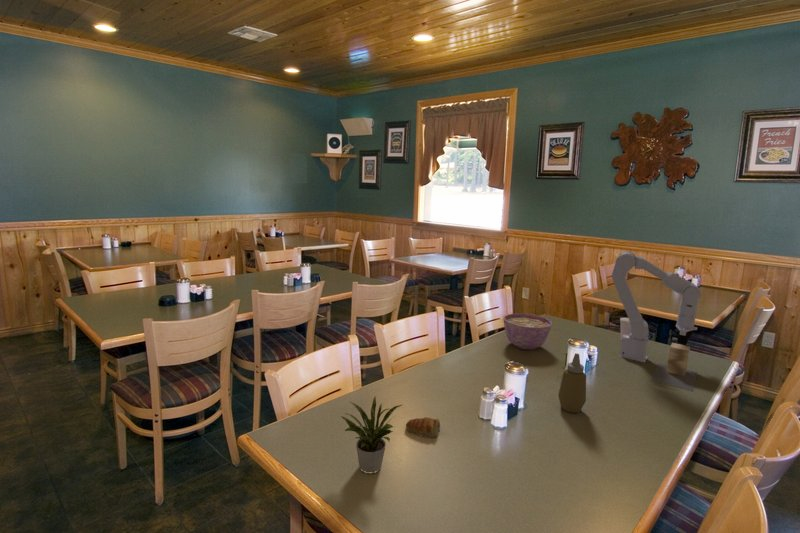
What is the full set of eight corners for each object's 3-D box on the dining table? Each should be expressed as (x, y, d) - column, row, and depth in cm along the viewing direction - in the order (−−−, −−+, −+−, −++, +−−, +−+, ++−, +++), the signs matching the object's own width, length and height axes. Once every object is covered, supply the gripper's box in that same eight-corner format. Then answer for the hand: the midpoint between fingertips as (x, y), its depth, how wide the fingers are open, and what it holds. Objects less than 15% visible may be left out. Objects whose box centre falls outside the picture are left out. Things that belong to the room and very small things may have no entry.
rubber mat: (650, 381, 164) (650, 380, 164) (658, 364, 180) (658, 363, 180) (692, 392, 156) (692, 391, 156) (697, 373, 173) (697, 372, 173)
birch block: (666, 371, 172) (670, 346, 170) (668, 367, 177) (672, 342, 175) (684, 376, 168) (688, 350, 166) (686, 371, 173) (690, 346, 171)
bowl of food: (491, 344, 195) (494, 318, 193) (517, 335, 209) (520, 310, 207) (533, 358, 181) (535, 331, 179) (558, 347, 194) (561, 321, 192)
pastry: (403, 435, 123) (404, 422, 123) (408, 422, 130) (408, 410, 129) (438, 440, 122) (439, 427, 121) (440, 427, 128) (441, 414, 128)
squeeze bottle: (585, 406, 143) (592, 352, 140) (583, 417, 136) (590, 361, 133) (558, 400, 147) (564, 347, 143) (555, 411, 140) (561, 355, 136)
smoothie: (635, 342, 205) (639, 312, 202) (621, 341, 205) (625, 312, 202) (628, 337, 211) (632, 308, 209) (614, 337, 211) (618, 308, 209)
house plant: (384, 442, 119) (386, 384, 116) (414, 471, 108) (417, 407, 105) (334, 458, 112) (335, 396, 109) (360, 491, 100) (362, 423, 97)
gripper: (697, 321, 167) (691, 356, 170) (700, 313, 179) (694, 345, 181) (675, 317, 171) (670, 351, 174) (679, 309, 183) (674, 341, 185)
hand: (681, 348), depth 178 cm, fingers closed
